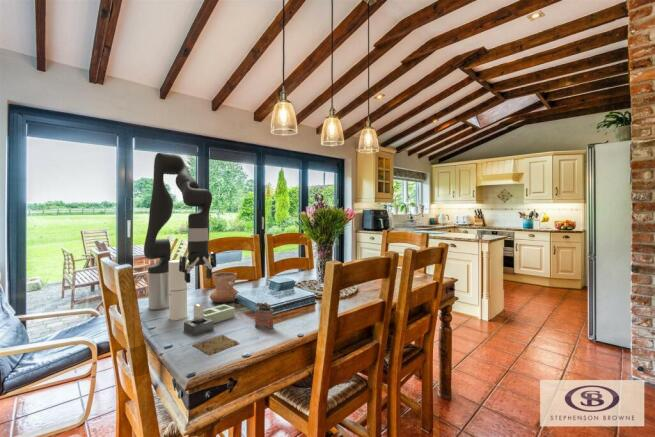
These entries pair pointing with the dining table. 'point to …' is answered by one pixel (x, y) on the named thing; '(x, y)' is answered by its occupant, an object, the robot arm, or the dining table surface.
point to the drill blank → (198, 313)
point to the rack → (219, 313)
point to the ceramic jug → (224, 287)
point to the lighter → (264, 316)
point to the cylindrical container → (177, 292)
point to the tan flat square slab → (215, 344)
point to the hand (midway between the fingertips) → (198, 280)
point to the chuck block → (198, 326)
